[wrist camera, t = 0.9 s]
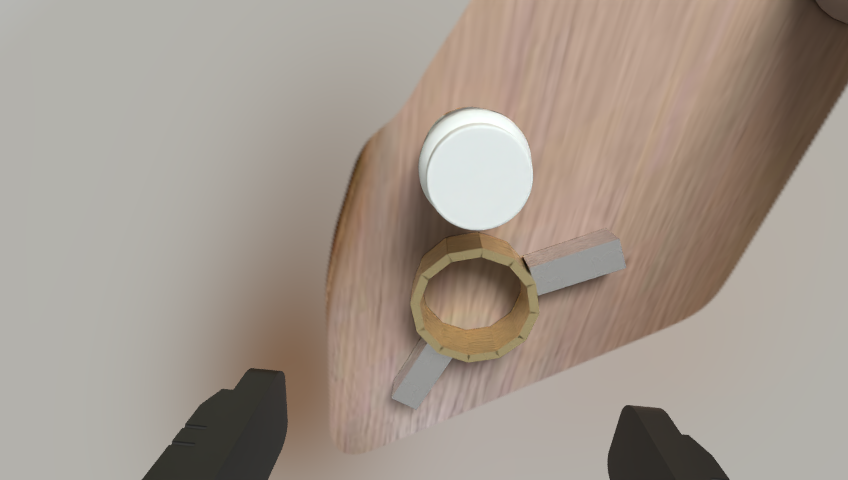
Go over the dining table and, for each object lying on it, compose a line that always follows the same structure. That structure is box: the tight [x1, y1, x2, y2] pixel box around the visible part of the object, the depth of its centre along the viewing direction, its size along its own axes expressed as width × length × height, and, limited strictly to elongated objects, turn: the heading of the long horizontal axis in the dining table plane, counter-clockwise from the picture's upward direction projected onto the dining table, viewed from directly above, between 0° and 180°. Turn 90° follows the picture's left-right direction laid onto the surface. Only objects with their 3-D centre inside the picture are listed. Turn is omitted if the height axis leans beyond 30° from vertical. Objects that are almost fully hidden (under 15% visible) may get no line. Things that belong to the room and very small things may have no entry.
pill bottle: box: [418, 107, 533, 230], centre depth 22 cm, size 6×6×10 cm
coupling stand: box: [391, 228, 626, 410], centre depth 29 cm, size 20×9×3 cm, turn 131°
